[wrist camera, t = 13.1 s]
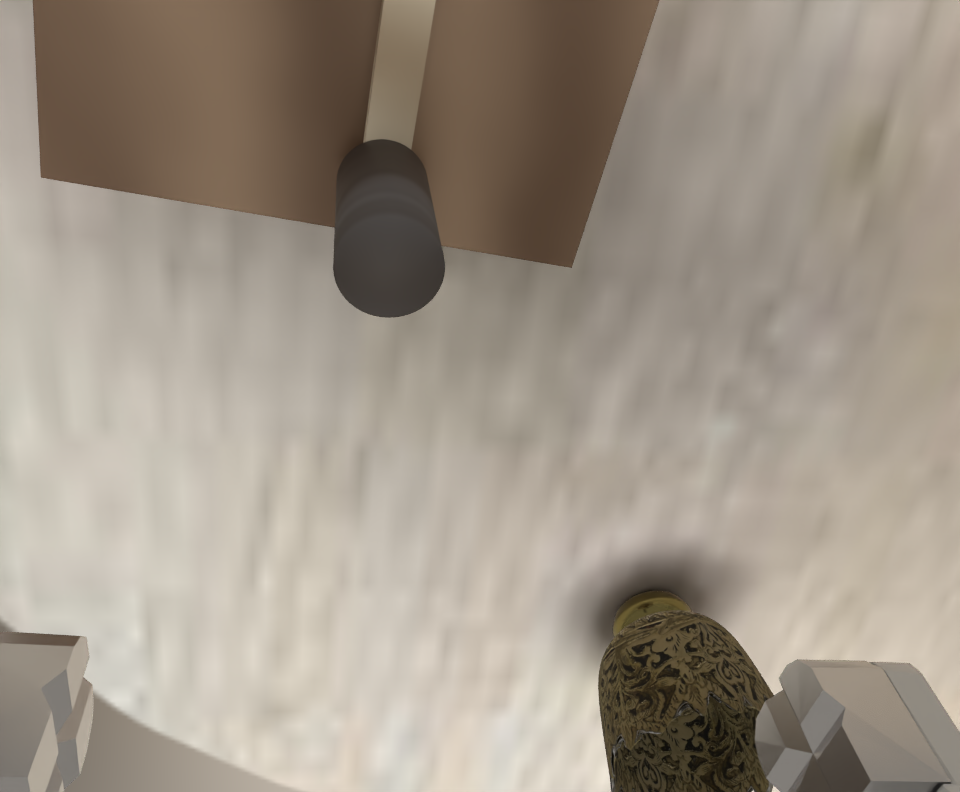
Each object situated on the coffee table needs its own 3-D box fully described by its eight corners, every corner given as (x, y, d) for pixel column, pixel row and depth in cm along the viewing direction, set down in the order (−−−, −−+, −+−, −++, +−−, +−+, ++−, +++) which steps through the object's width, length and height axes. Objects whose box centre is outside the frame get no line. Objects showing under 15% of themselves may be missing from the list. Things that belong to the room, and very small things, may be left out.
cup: (613, 539, 36) (671, 702, 29) (756, 568, 38) (839, 726, 32) (543, 651, 40) (580, 817, 33) (676, 672, 42) (737, 831, 35)
